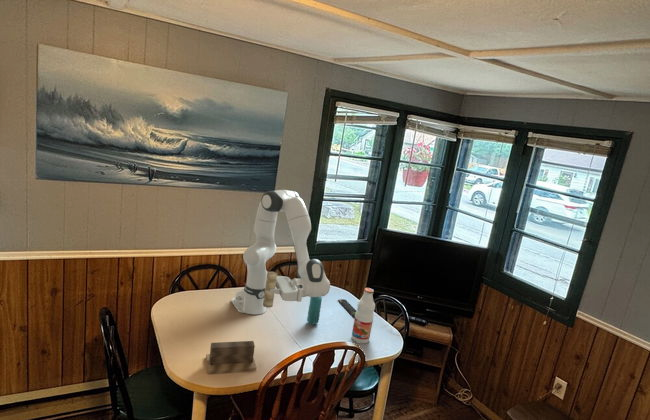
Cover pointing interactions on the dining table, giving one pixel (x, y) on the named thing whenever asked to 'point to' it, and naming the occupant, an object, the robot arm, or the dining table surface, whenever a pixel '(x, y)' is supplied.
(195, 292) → the dining table surface
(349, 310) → the remote control
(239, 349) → the fulcrum ridge
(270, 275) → the maple dowel
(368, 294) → the fruit juice
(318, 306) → the beverage bottle
